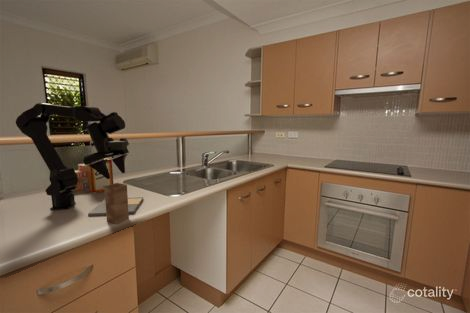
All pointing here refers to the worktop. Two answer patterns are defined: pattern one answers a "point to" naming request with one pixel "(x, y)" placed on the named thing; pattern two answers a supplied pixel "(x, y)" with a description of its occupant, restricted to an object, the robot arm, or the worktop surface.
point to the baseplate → (101, 208)
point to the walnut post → (116, 203)
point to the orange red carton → (81, 177)
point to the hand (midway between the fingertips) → (116, 175)
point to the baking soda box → (99, 178)
